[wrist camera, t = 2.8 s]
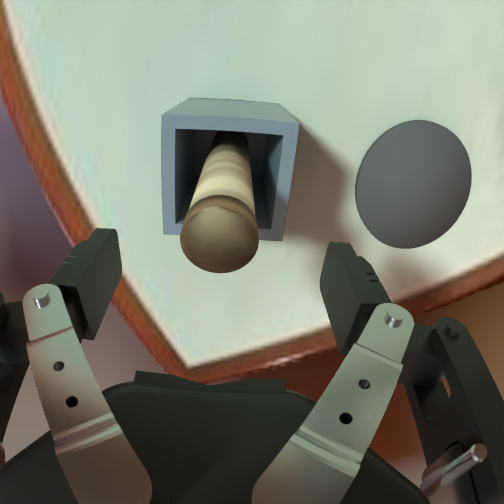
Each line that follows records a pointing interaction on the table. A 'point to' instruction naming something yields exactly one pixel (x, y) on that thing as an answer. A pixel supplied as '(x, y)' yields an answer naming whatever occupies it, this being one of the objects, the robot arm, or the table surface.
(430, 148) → the gray disc
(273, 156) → the deep cup
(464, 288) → the table surface
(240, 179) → the beech dowel
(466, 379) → the robot arm
